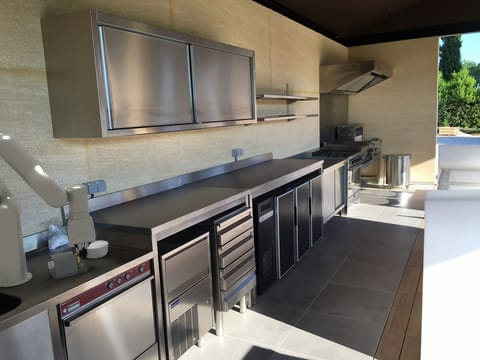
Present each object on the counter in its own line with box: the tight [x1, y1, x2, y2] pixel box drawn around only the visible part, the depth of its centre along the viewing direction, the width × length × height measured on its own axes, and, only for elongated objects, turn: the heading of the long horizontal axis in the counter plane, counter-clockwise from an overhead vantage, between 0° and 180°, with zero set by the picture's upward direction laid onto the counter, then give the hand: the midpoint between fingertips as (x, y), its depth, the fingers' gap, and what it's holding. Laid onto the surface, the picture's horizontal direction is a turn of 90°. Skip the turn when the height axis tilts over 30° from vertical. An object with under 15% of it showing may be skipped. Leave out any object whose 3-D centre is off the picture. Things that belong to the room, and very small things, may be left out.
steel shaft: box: [47, 252, 81, 270], centre depth 167 cm, size 11×5×5 cm, turn 123°
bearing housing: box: [49, 250, 89, 280], centre depth 168 cm, size 13×9×7 cm
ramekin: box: [82, 240, 109, 260], centre depth 188 cm, size 11×11×5 cm
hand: (83, 257), depth 172 cm, fingers closed
